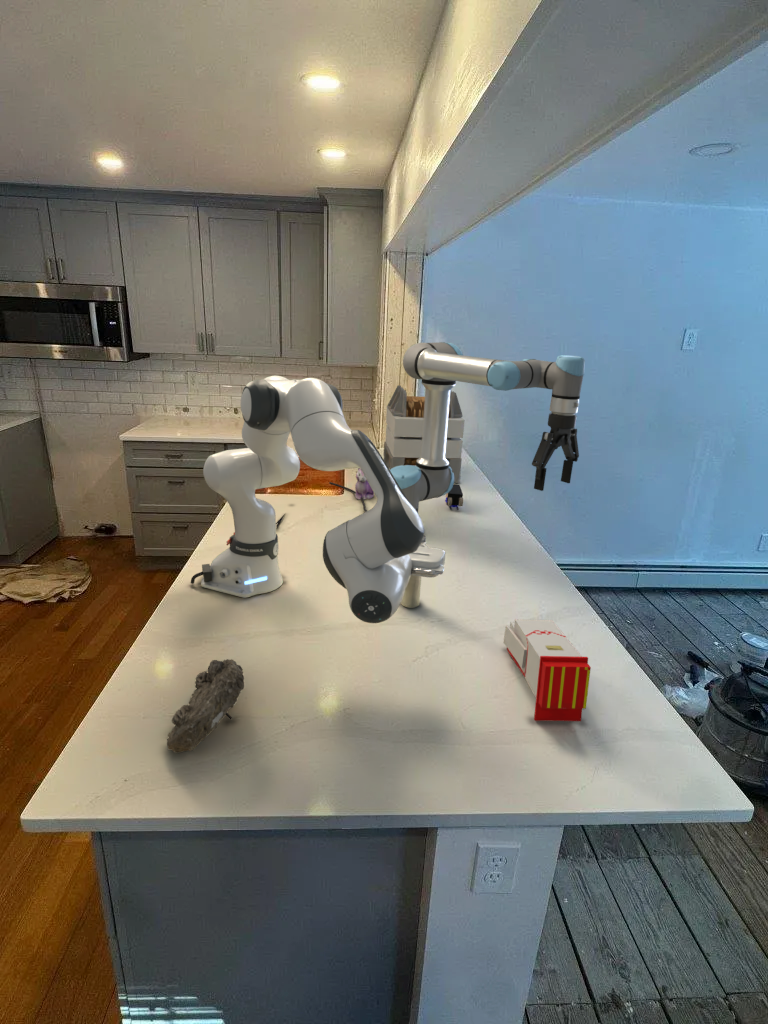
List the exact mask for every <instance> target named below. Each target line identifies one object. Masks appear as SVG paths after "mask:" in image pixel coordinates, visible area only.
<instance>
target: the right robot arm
mask: <svg viewBox="0 0 768 1024" xmlns="http://www.w3.org/2000/svg"><path fill="white" fill-rule="evenodd" d="M585 365H586V360H585V358H584V357H582V356H578V355H566V354H565V355H564V354H563V355H558V356H557V357H556V360H555V361H549V360H541V359H536V358H524V359H521V360H506V359H505V360H504V359H503V360H502V359H496V358H487V357H479V356H471V355H464V354H463V352H462V350H461V349H460V347H459V346H457V345H456V344H455V343H451V342H445V341H443V342H442V341H441V342H440V341H439V342H438V341H437V342H417V343H414V344H412V345H411V346H409V347H408V348H407V350H406V351H405V353H404V355H403V358H402V366H403V369H404V372H405V373H406V374H407V375H408V376H409V377H411V378H412V379H415V380H421V385H422V386H423V387H424V389H425V392H424V397H425V404H424V419H423V434H422V449H421V457H420V458H418V459H417V461H416V466H413V465H401V466H396V467H394V468H392V469H390V468H389V469H390V471H391V473H392V475H393V476H394V478H395V480H396V481H397V483H398V485H399V486H400V488H401V490H402V491H403V493H404V495H405V496H406V498H407V499H408V501H409V502H410V503H411V505H412V506H413V507H414V509H415V510H416V511H417V513H418V514H419V507H420V506H419V505H420V502H423V501H427V500H431V499H437V498H440V497H443V496H446V494H447V493H448V492H449V491H450V490H451V489H452V487H453V484H455V483H454V473H452V469H451V467H450V466H449V462H448V461H447V459H446V458H445V453H446V441H447V428H448V416H449V404H450V392H451V391H452V389H453V388H454V387H455V386H456V384H457V382H461V383H465V384H473V385H479V386H487V387H491V388H492V389H494V390H496V391H503V392H504V391H511V390H520V389H532V388H533V389H534V388H539V389H546V390H551V398H550V404H549V413H548V418H547V419H548V420H547V426H548V427H549V428H550V431H549V432H548V431H543V432H542V435H541V440H540V442H539V445H538V447H537V449H536V452H535V454H534V457H533V460H532V461H531V466H533V467H535V475H534V477H535V478H534V485H533V489H534V490H537V491H539V492H543V491H544V489H545V484H546V483H545V482H546V476H547V468H546V466H547V465H548V463H549V461H550V459H551V457H552V456H553V454H554V453H555V451H556V450H557V449H558V448H560V447H561V449H562V452H563V455H564V458H565V459H563V463H562V468H561V469H562V470H561V475H560V482H562V483H566V484H571V478H572V472H573V466H574V463H576V462H578V461H579V457H580V453H579V444H578V428H576V423H577V419H578V416H577V414H578V412H579V411H578V410H579V406H580V397H581V391H582V385H583V380H584V376H585ZM328 484H329V485H331V486H335V487H338V488H341V489H343V490H345V491H349V492H351V493H353V494H354V495H355V493H356V490H353V489H351V488H349V487H346V486H344V485H342V484H338V483H335V482H331V481H329V483H328ZM359 500H360V501H361V503H362V506H363V508H362V509H363V511H364V512H366V511H368V510H367V509H366V503H365V500H363V498H362V497H361V498H360V499H359Z"/></svg>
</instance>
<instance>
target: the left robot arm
mask: <svg viewBox="0 0 768 1024" xmlns="http://www.w3.org/2000/svg"><path fill="white" fill-rule="evenodd" d="M343 406H344V405H343V399H342V394H341V393H340V392H339V389H338V388H337V387H336V386H335V385H333V384H330V383H327V382H325V381H323V380H321V379H320V378H316V377H306V378H302V379H288V378H287V377H284V376H281V375H270V376H267V377H265V378H262V379H255V380H251V381H249V382H248V383H247V384H246V385H245V386H244V387H243V389H242V392H241V397H240V411H241V415H242V419H243V424H242V429H241V437H242V441H243V443H244V445H245V446H246V447H244V448H234V449H226V450H223V451H219V452H216V453H214V454H211V455H209V456H208V457H207V458H206V460H205V462H204V465H203V469H202V473H203V479H204V482H205V484H206V485H207V486H208V487H209V489H211V490H212V492H215V493H217V494H218V495H220V496H221V497H222V498H223V499H224V500H226V502H227V504H228V506H229V508H230V509H231V513H232V517H233V525H234V526H233V527H234V532H233V534H231V536H229V539H228V540H227V541H226V546H229V547H228V548H226V549H225V550H223V551H222V552H220V553H219V554H218V555H217V556H215V557H214V558H213V559H212V560H211V563H204V564H201V571H200V572H197V573H195V574H194V575H193V576H191V580H190V584H191V585H194V584H195V580H196V579H197V578H198V577H201V576H202V578H201V581H200V586H201V587H202V588H205V589H209V590H212V591H216V592H221V593H224V594H227V595H232V596H236V597H239V598H243V599H245V598H246V599H247V598H249V597H253V596H256V595H260V594H261V595H262V594H266V593H270V592H272V591H276V590H277V589H278V588H280V587H281V586H282V585H283V583H284V579H283V576H282V573H281V568H280V565H279V564H280V563H279V559H278V558H279V557H278V555H279V537H278V534H277V530H276V529H277V524H276V523H277V517H276V516H277V514H276V513H277V512H276V509H275V508H274V506H273V505H272V504H271V503H270V502H268V501H266V500H264V499H261V498H258V497H256V490H259V489H266V488H272V487H280V486H283V485H285V484H289V483H290V482H293V481H295V480H296V479H297V477H298V476H299V474H300V471H301V462H303V463H304V464H305V465H306V466H308V467H310V468H312V469H315V470H317V471H322V472H336V471H337V472H338V471H344V470H349V469H352V470H353V469H358V468H359V469H361V470H362V472H363V474H364V476H365V477H366V479H367V481H368V483H369V485H370V486H371V488H372V490H373V492H374V496H375V497H376V502H375V504H374V506H373V507H372V508H370V509H368V510H367V511H366V512H365V511H364V512H363V513H361V514H359V515H357V516H355V517H353V518H351V519H348V520H346V521H344V522H342V523H341V524H339V525H337V526H335V527H334V528H331V529H330V530H328V531H327V532H326V534H325V536H324V539H323V543H322V560H323V564H324V565H325V567H326V570H327V572H328V573H329V574H330V576H331V577H332V578H333V579H334V581H335V582H337V584H338V585H340V586H341V587H342V588H344V589H345V590H346V592H347V596H348V597H347V598H348V604H349V608H350V610H351V613H352V614H353V615H354V617H356V618H357V619H358V620H359V621H361V622H364V623H369V624H379V623H383V622H385V621H388V620H389V619H390V618H391V617H392V616H394V614H396V612H397V610H398V609H399V607H400V605H401V601H402V599H403V596H404V593H405V589H406V587H407V585H408V582H409V579H410V577H411V575H413V576H421V578H436V577H438V576H439V575H443V574H444V572H445V571H444V570H445V561H446V551H445V550H444V549H443V548H439V547H438V548H437V547H429V546H428V545H427V541H426V542H421V541H422V538H423V535H425V531H426V529H425V526H424V522H423V520H422V517H421V516H420V514H419V512H418V513H417V511H416V510H415V509H414V507H413V506H412V505H411V503H410V502H409V501H408V499H407V498H406V496H405V495H404V493H403V491H402V490H401V488H400V486H399V485H398V483H397V481H396V480H395V478H394V476H393V475H392V473H391V471H390V467H388V466H387V464H386V463H385V461H384V457H382V455H381V453H380V452H379V450H378V449H377V447H376V445H375V444H374V443H373V441H372V440H371V439H370V438H369V436H367V435H366V434H365V433H364V432H363V431H362V430H360V429H351V428H350V427H349V425H348V423H347V420H346V418H345V415H344V413H343V408H344V407H343ZM290 436H291V439H292V440H291V441H292V443H293V446H294V448H292V447H291V446H289V445H287V444H288V440H289V437H290ZM300 461H301V462H300Z"/></svg>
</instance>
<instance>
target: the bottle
mask: <svg viewBox="0 0 768 1024" xmlns="http://www.w3.org/2000/svg"><path fill="white" fill-rule="evenodd" d="M421 586H422V577H421V576H413V575H411V577H410V579H409V582H408V585H407V587H406V589H405V593H404V596H403V599H402V601H401V603H400V605H401V606H403V607H405V608H408V609H414V608H417V607H419V606H420V598H421Z"/></svg>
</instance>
